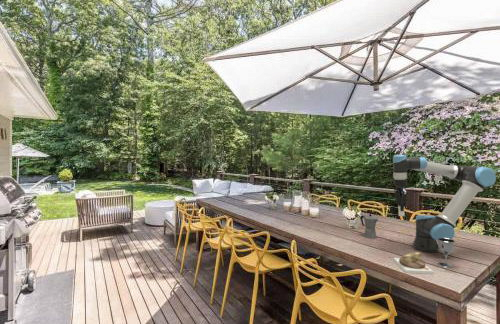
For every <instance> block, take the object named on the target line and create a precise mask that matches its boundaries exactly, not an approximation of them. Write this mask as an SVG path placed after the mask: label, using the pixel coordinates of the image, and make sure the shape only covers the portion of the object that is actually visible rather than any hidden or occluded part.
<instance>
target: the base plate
mask: <svg viewBox="0 0 500 324" xmlns="http://www.w3.org/2000/svg"><path fill="white" fill-rule="evenodd" d="M400 258H401V257H393V262H395V264H396V265H398V266H399V268H400V269H402V270H403V271H404V272H405V273H406V274H423V275H434V270H432V268H430V267H428V266H427V264H425V267H424V268H411V267H407V266H404V265H402V264H401V263H400V262H399V259H400Z"/></svg>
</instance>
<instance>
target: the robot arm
mask: <svg viewBox="0 0 500 324" xmlns="http://www.w3.org/2000/svg"><path fill="white" fill-rule="evenodd" d="M392 165H393V168H392V169H393V174H392V176H393V185H394V186H395V188H394V189H393V191H394V194H395V195H394V196H395V203H396V204H397V207H398V216H399V217H405V206H406V204H407V198H408V197H407V196H408V190H406V186H408V180H407V179H408V170H412V171H418V172H419V171H420V172H423V173H429V174H433V175H438V176H442V177H448V178H449V179H450V180H455V181H459V182H461V183H462V185H461V186H460V187H459V189H458V190H457V192H456V193H455V194H454V196H453V197H452V198H451V200H450V201H449V202H448V204H447V205H446V206H445V208H443V210H442V211H441V213H440V214H438V215H437V214H436V215H432V214H431V215H430V214H428V215H427V214H418V215H416V216H415V237H414V240H413V243H412V248H413V249H415V250H418V251H419V252H425V253H438V252H439V251H440V248H439V245H438V238H448V239H452V240H453V238H454V236H455V235H456V234H455V228H456V222H457V221H458V220H459V218H460V216H461V215H462V214H463V212H464V211H465V210H466V209H467V207H468V206H469V205H470V203H471V202H472V200H474V198H475V197H476V195H477V194H478V193H480V192H483V191H484V189H486V187H491V186H493V185H495V184H496V183H495V182H496V180H497V176H496V173H495V171H494V170H493V169H492V168H490V167H488V166H487V167H486V166H472V165H456V164H453V165H448V164H443V163H438V162H433V161H429V160H427V158H426V157H424V156H417V157H414V156H410V157H409V156H407V155H406V154H395V155H393V157H392Z"/></svg>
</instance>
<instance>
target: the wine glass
mask: <svg viewBox="0 0 500 324" xmlns="http://www.w3.org/2000/svg"><path fill="white" fill-rule="evenodd" d="M455 242H456V241H455V240H454V239H453V238H452V239H448V238H438V241H437V244H438V246H439V251H441V252H442V254H443V256H444V262H439V263H438V265H439V266H441V267H442V268H449V269H451V268H454V265H453V264H451V263H448V261H447V260H448V256H449V255H450V254H451V253H452V252H453V251H454V249H455V246H456V243H455Z"/></svg>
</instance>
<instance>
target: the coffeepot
mask: <svg viewBox="0 0 500 324" xmlns="http://www.w3.org/2000/svg"><path fill="white" fill-rule="evenodd" d="M359 219H360V223H361V225H362V227H365V228H364V234H363V237H364V238H367V239H377V232H376V231H377V230H376V224H377V222H378V221H379V219H378V218H377V217H375V216H372V214H371V213H369V214H368V216H366V215H360V216H359Z"/></svg>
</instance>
